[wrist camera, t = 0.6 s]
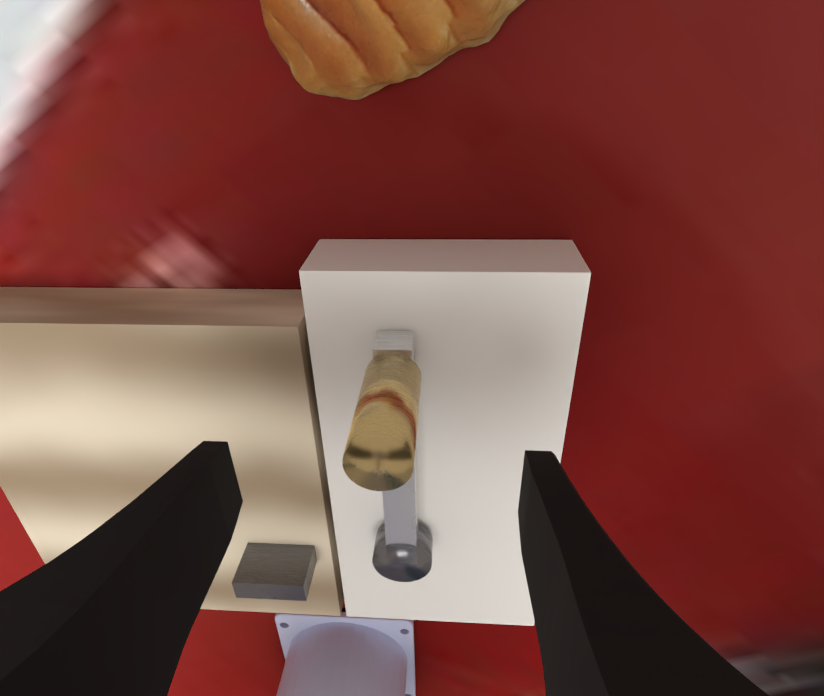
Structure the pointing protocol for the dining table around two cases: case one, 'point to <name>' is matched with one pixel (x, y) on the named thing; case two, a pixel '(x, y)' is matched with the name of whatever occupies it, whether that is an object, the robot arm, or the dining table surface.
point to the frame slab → (448, 404)
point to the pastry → (375, 38)
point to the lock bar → (391, 455)
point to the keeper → (275, 571)
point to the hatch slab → (165, 416)
